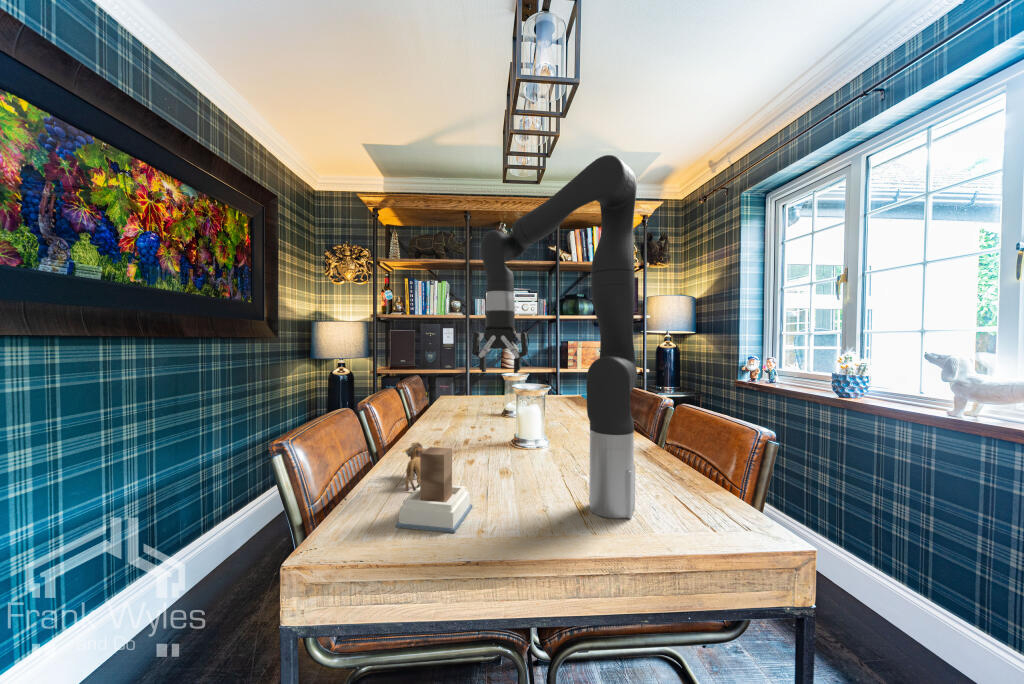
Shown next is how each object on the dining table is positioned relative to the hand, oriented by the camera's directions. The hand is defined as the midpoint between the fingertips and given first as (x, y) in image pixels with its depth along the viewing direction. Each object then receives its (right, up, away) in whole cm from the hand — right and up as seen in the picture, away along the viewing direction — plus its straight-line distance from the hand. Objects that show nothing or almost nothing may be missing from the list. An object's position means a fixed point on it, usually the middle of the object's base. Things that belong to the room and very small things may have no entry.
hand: (499, 372), depth 106 cm
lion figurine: (-22, -28, -1) cm, 36 cm away
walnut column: (-12, -25, -22) cm, 35 cm away
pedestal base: (-12, -28, -22) cm, 38 cm away
